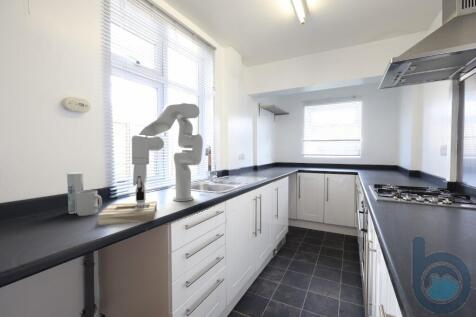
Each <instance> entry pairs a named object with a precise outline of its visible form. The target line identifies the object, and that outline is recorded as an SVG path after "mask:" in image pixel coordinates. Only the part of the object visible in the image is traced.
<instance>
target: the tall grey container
mask: <svg viewBox="0 0 476 317" xmlns="http://www.w3.org/2000/svg"><path fill="white" fill-rule="evenodd" d="M66 179H67V202H68V203H67V205H68V207H67V208H68V214H71V215H72V214H74V213H75V214H77V192H80V191H84V173H83V172H80V171H79V172H76V171H75V172H68V173H66Z"/></svg>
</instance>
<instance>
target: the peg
mask: <svg viewBox="0 0 476 317" xmlns="http://www.w3.org/2000/svg"><path fill="white" fill-rule="evenodd" d="M136 192H137V187H136V188H135V193H136ZM143 192H144V200H138V201H137V198H136V197H135V203H137V207H135V209H140V208H147V206H145V202H146V200H147V187H146V186H145V187H143Z"/></svg>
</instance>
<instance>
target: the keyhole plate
mask: <svg viewBox="0 0 476 317" xmlns="http://www.w3.org/2000/svg"><path fill="white" fill-rule="evenodd" d="M157 204H158V203H157V201H145V206H147V208H140V209H135V207H137V202H127V203H126V202H125V203H110V204H108V205H107V206H106V207H105V208H104V209H103V210H102V211H101V212H100V213H99V214H97V215H98V218H97V219H98V221H97V222H98V226H105V225H106V226H107V225H117V224H119V225H120V224H129V223H139V222H141V221H142V222H150V221H155V211H157V210H158V208H157V206H158V205H157Z"/></svg>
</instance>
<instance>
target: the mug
mask: <svg viewBox="0 0 476 317" xmlns="http://www.w3.org/2000/svg"><path fill="white" fill-rule="evenodd" d="M102 206H103V199H102V197H101V195H99V194H98V190H96V189H95V190H94V189H90V190H89V189H88V190H83V191H80V192H77V213H76V214H77V216H80V217H86V216H91V215H95V214H97V213H98V212H99V209H100V208H102Z"/></svg>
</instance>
